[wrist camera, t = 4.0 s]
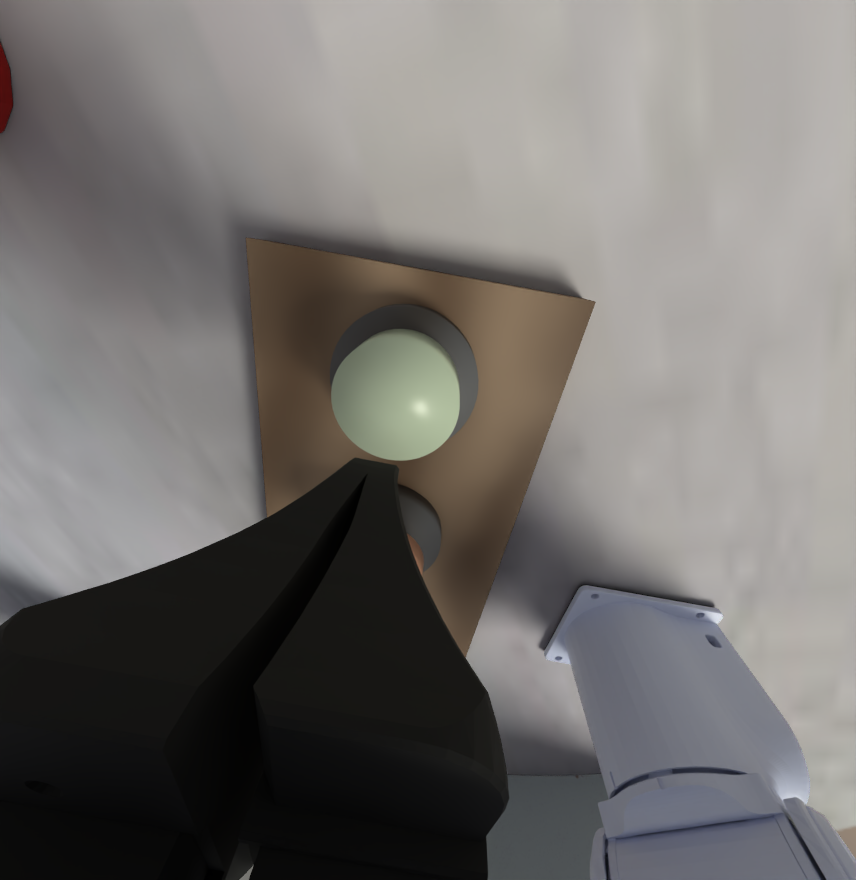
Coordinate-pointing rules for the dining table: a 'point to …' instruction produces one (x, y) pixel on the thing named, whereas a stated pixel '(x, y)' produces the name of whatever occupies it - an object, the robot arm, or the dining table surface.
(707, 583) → the dining table surface
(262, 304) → the button board
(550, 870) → the grey upright box
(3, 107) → the plastic cup
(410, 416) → the sage button
